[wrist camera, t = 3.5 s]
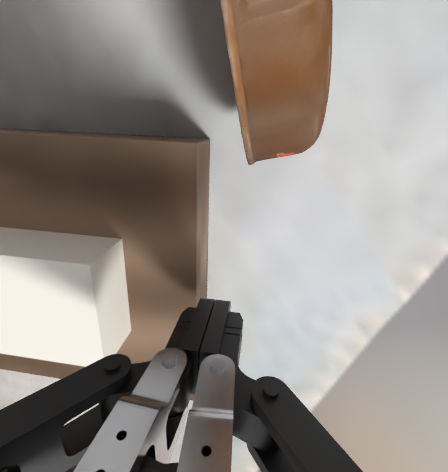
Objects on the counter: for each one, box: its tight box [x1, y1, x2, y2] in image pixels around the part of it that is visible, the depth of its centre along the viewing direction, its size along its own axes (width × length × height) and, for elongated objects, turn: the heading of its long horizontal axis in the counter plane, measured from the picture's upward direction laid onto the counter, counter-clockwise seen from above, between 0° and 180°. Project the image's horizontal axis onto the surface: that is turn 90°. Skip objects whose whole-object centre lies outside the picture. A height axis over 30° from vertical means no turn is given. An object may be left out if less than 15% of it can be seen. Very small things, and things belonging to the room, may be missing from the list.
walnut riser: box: [0, 128, 210, 400], centre depth 19 cm, size 16×18×3 cm
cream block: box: [0, 227, 131, 367], centre depth 16 cm, size 6×10×3 cm, turn 88°
